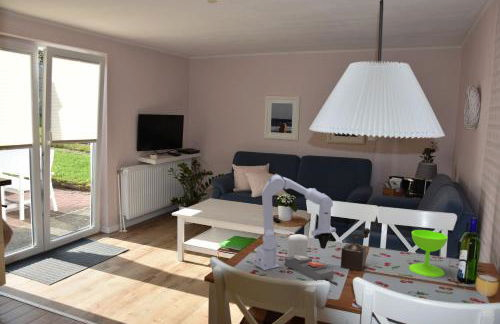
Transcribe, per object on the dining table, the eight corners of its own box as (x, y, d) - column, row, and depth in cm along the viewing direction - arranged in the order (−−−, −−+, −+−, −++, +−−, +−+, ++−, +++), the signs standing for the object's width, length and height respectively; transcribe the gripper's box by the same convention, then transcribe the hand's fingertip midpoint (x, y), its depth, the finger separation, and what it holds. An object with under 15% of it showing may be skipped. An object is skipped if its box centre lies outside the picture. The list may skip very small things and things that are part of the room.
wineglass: (401, 266, 200) (404, 231, 198) (426, 263, 206) (429, 229, 204) (425, 278, 185) (429, 240, 184) (452, 274, 191) (455, 238, 189)
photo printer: (305, 256, 210) (306, 233, 209) (307, 259, 206) (308, 235, 205) (286, 256, 209) (287, 233, 207) (288, 259, 204) (289, 235, 203)
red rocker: (313, 266, 181) (314, 264, 181) (307, 264, 184) (308, 261, 184) (323, 267, 184) (324, 264, 185) (317, 264, 188) (318, 262, 188)
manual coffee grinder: (363, 271, 191) (365, 235, 189) (340, 267, 196) (342, 231, 194) (369, 262, 205) (371, 227, 203) (347, 258, 210) (349, 224, 208)
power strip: (330, 287, 171) (331, 277, 171) (284, 264, 196) (285, 255, 196) (344, 283, 176) (344, 273, 176) (297, 262, 201) (298, 253, 201)
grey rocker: (299, 260, 189) (299, 257, 189) (293, 257, 192) (294, 255, 192) (308, 260, 193) (309, 258, 193) (303, 258, 196) (303, 255, 196)
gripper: (319, 224, 186) (317, 252, 187) (341, 220, 194) (339, 248, 195) (308, 220, 191) (307, 248, 193) (330, 217, 200) (328, 244, 201)
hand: (322, 248), depth 194 cm, fingers closed
